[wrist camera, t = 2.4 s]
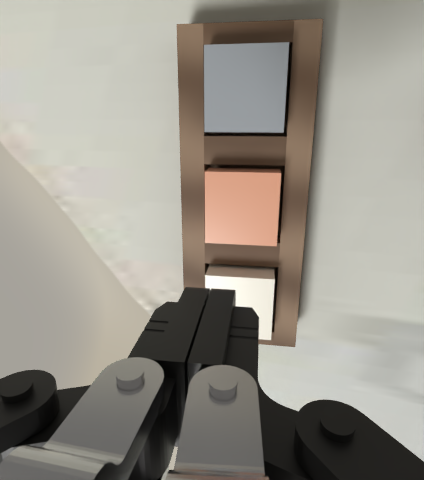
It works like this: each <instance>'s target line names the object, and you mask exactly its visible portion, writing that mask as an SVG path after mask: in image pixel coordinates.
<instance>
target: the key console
mask: <svg viewBox="0 0 424 480" xmlns="http://www.w3.org/2000/svg"><path fill="white" fill-rule="evenodd" d="M322 28H323V19H303V20H277V21H250V22H224V23H197V24H177V51H178V88H179V126H180V164H181V202H182V239H183V277H184V289H185V287H196V288H205V275H206V272H207V270H208V267H209V265H210V264H217V265H235V266H253V267H271V268H274V275H275V284H274V300H273V316H272V333H271V340H263V339H259V341H258V344H265V345H277V346H289V347H295V342H296V330H297V319H298V307H299V295H300V284H301V272H302V261H303V249H304V237H305V226H306V214H307V203H308V191H309V179H310V168H311V156H312V144H313V133H314V121H315V110H316V98H317V86H318V75H319V63H320V52H321V40H322ZM281 42H289V54H288V71H287V87H286V103H285V120H284V133H272V132H204V45H213V44H247V43H281ZM208 168H260V169H280V170H281V185H280V202H279V218H278V235H277V246H260V245H238V244H217V243H205V171H206V170H207V169H208Z"/></svg>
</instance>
